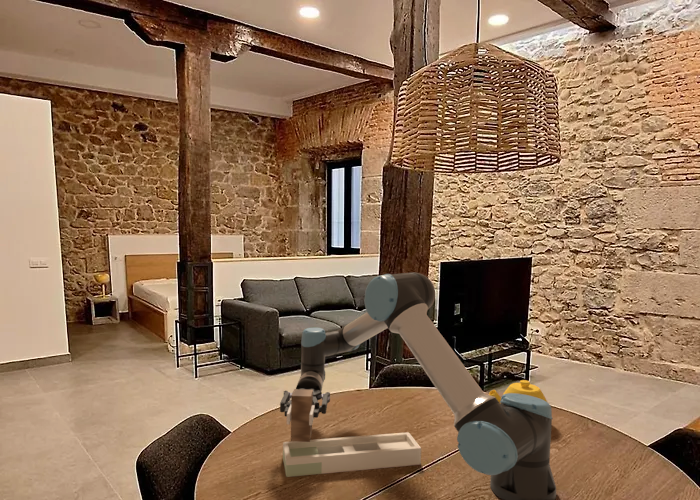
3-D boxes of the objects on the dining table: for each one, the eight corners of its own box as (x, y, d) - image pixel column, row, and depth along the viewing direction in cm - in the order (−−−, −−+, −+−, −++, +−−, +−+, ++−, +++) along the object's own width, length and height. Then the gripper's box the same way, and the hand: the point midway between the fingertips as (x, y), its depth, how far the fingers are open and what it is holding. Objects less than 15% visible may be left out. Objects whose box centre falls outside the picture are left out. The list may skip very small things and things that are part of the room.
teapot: (498, 433, 151) (499, 389, 151) (478, 413, 167) (480, 374, 166) (558, 431, 154) (560, 388, 153) (534, 412, 169) (535, 373, 169)
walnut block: (311, 433, 131) (312, 389, 130) (309, 441, 126) (310, 396, 125) (293, 432, 131) (294, 389, 130) (290, 441, 126) (291, 395, 125)
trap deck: (408, 447, 140) (408, 432, 140) (420, 464, 131) (421, 448, 130) (282, 458, 133) (283, 442, 132) (286, 476, 123) (286, 459, 123)
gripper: (339, 401, 146) (334, 435, 123) (279, 399, 146) (263, 432, 123) (339, 376, 145) (335, 406, 122) (279, 374, 146) (264, 403, 123)
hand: (299, 419), depth 123 cm, fingers closed on walnut block, 5 cm apart
